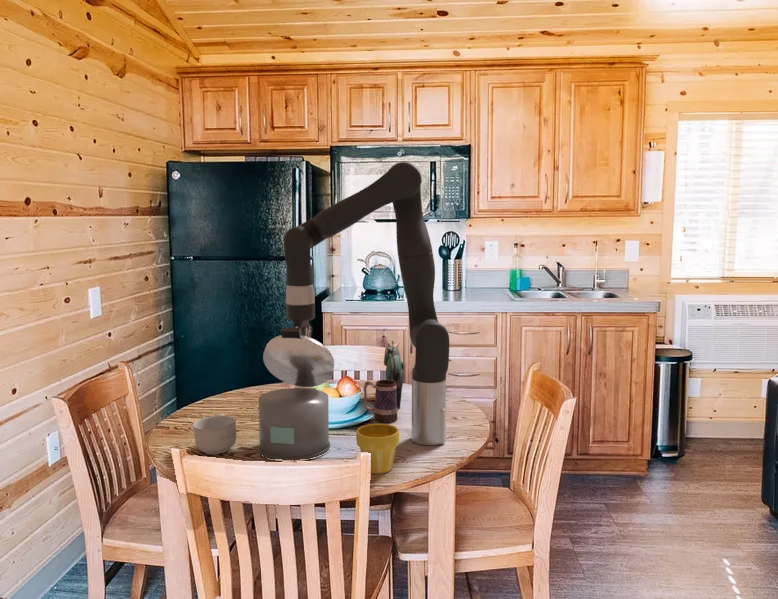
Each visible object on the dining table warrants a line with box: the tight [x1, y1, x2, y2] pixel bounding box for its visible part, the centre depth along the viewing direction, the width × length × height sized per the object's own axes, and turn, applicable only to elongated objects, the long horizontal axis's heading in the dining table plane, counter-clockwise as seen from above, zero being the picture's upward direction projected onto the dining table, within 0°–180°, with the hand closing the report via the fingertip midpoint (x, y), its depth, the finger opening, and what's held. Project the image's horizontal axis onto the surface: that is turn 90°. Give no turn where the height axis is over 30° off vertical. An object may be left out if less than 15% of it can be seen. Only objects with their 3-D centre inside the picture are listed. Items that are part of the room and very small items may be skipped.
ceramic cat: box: [383, 340, 405, 410], centre depth 210 cm, size 20×6×20 cm, turn 3°
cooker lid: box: [262, 326, 335, 388], centre depth 169 cm, size 19×21×3 cm
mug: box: [363, 379, 399, 424], centre depth 191 cm, size 10×7×12 cm
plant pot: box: [355, 423, 400, 475], centre depth 154 cm, size 10×10×10 cm
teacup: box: [192, 413, 237, 455], centre depth 167 cm, size 14×11×8 cm
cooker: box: [258, 386, 331, 461], centre depth 167 cm, size 19×20×14 cm
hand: (302, 364), depth 172 cm, fingers closed
